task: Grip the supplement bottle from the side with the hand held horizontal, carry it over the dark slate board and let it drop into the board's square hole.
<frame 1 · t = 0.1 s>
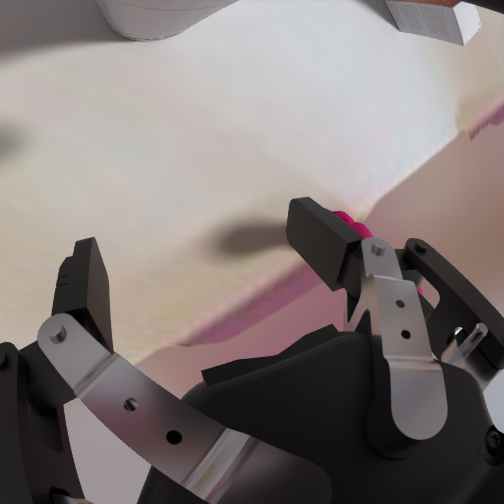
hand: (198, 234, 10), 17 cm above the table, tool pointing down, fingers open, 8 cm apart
pepper mill: (332, 227, 42), on the table
small box: (403, 7, 20), on the table
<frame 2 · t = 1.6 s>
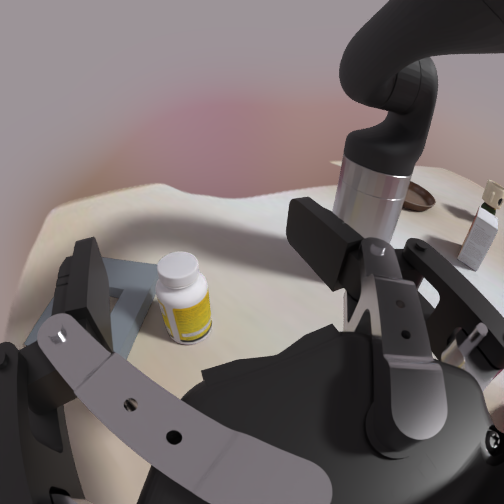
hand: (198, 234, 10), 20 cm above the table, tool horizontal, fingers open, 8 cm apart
hole board: (96, 314, 31), on the table
plant saucer: (404, 199, 65), on the table
small box: (468, 258, 44), on the table
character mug: (482, 223, 59), on the table
supplement bottle: (189, 328, 31), on the table
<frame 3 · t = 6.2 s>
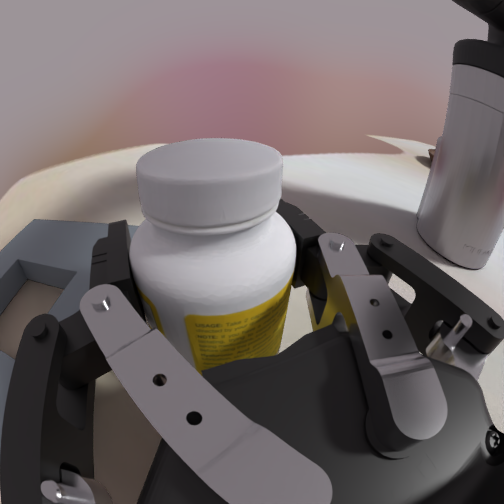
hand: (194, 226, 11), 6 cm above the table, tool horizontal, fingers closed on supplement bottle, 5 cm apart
hole board: (29, 321, 13), on the table
supplement bottle: (220, 360, 13), on the table, touching gripper
when the fingers open (8 cm above the table, at t = 10.9 s): supplement bottle drops 2 cm, resting in hole board.
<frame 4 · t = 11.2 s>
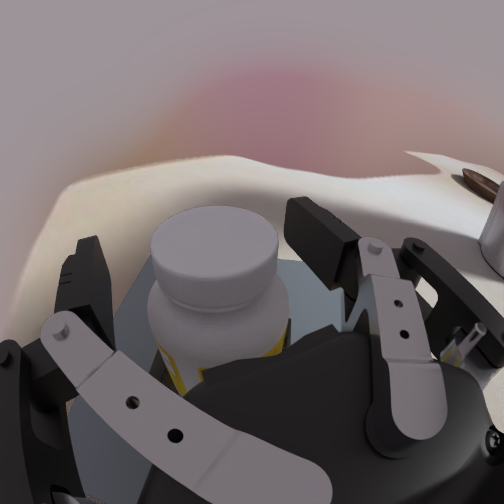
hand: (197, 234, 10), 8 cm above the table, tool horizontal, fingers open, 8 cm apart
hole board: (222, 379, 14), on the table
plant saucer: (486, 194, 48), on the table
supplement bottle: (225, 383, 14), resting in hole board
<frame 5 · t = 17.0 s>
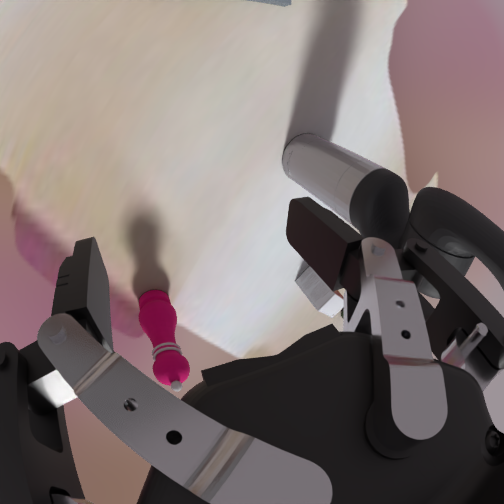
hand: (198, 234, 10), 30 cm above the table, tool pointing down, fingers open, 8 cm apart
pepper mill: (153, 300, 51), on the table
small box: (309, 277, 67), on the table
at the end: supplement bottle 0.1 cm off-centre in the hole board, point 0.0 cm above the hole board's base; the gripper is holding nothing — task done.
